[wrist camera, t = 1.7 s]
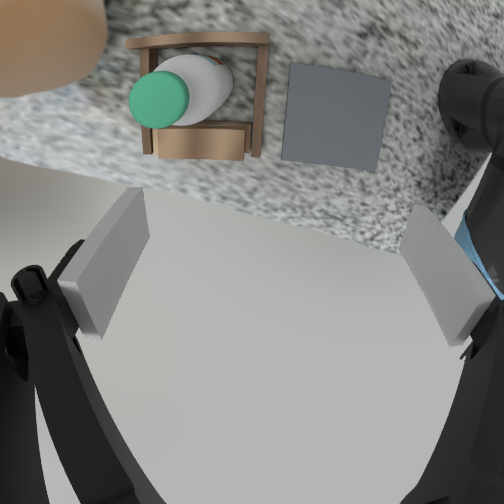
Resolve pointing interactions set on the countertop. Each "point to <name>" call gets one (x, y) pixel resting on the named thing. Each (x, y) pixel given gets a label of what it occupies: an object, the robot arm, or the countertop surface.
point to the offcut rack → (205, 132)
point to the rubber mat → (334, 117)
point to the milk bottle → (181, 91)
